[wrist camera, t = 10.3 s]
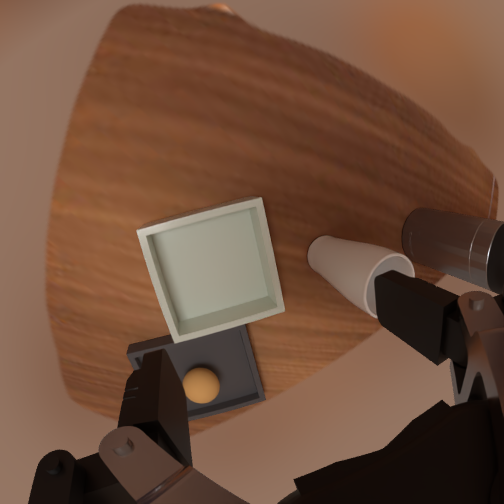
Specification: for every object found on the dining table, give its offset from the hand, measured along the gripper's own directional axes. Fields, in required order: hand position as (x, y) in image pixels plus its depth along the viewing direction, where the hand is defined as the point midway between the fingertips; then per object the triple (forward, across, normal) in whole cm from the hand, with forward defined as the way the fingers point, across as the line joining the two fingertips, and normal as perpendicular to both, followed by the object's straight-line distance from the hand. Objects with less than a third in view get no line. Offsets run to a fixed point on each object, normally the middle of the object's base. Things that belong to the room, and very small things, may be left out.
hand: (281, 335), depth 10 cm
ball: (+26, +8, +19) cm, 33 cm away
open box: (+27, +1, +4) cm, 27 cm away
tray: (+27, +8, +19) cm, 34 cm away
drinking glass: (+27, -14, +7) cm, 31 cm away
